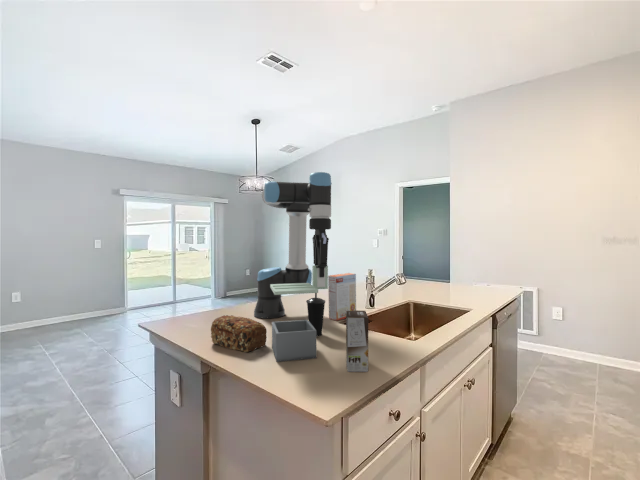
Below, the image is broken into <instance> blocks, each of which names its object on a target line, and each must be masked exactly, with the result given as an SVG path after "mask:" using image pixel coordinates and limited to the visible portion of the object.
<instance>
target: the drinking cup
mask: <svg viewBox="0 0 640 480" xmlns="http://www.w3.org/2000/svg"><path fill="white" fill-rule="evenodd" d="M325 304H326V299H323V298H321V297H318V293H314V297H311V298H309V299H307V300H306V306H307V317H308V319H307V320H308V321H309V322H310V323H311V324H312V326H313V327H314V328H315V329H316V338H318V337H321V336H323V327H324V326H323V325H324V317H325V315H324V314H325Z"/></svg>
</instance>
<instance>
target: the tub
mask: <svg viewBox="0 0 640 480" xmlns="http://www.w3.org/2000/svg"><path fill="white" fill-rule="evenodd" d="M271 349H272V353H273V355H274V358H275V361H276V363H279V362H287V361H289V362H291V361H297V360H299V361H300V360H310V359H317V337H316V329H315V328H314V327H313V326H312V324H311V323H310V322H309V320H308V319H299V320H298V319H296V320H283V321H281V320H280V321H278V320H277V321H271Z"/></svg>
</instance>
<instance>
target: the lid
mask: <svg viewBox="0 0 640 480" xmlns="http://www.w3.org/2000/svg"><path fill="white" fill-rule="evenodd" d="M311 266H312V270H311V272H312V281H311V284H309V283H292V284H270V288H271V289H272V291H273V293H274V294H275V295H281V296H282V295H298V294H299V295H300V294H303V295H304V294H315V293H317V294H318V293H319V290H329V289H328V276H329V265H327V266H326V267H325V287H317V268H316V266H318V265H316V266H315V265H311Z"/></svg>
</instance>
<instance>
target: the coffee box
mask: <svg viewBox="0 0 640 480" xmlns="http://www.w3.org/2000/svg"><path fill="white" fill-rule="evenodd" d="M345 326H346V327H345V345H346V347H345V351H346V352H345V358H346V359H345V362H346V370H347V372H355V373H359V372H362V373H363V372H364V373H368V372H369V316H368V314H367V311H366V310H357V309H356V311H346V318H345Z"/></svg>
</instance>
